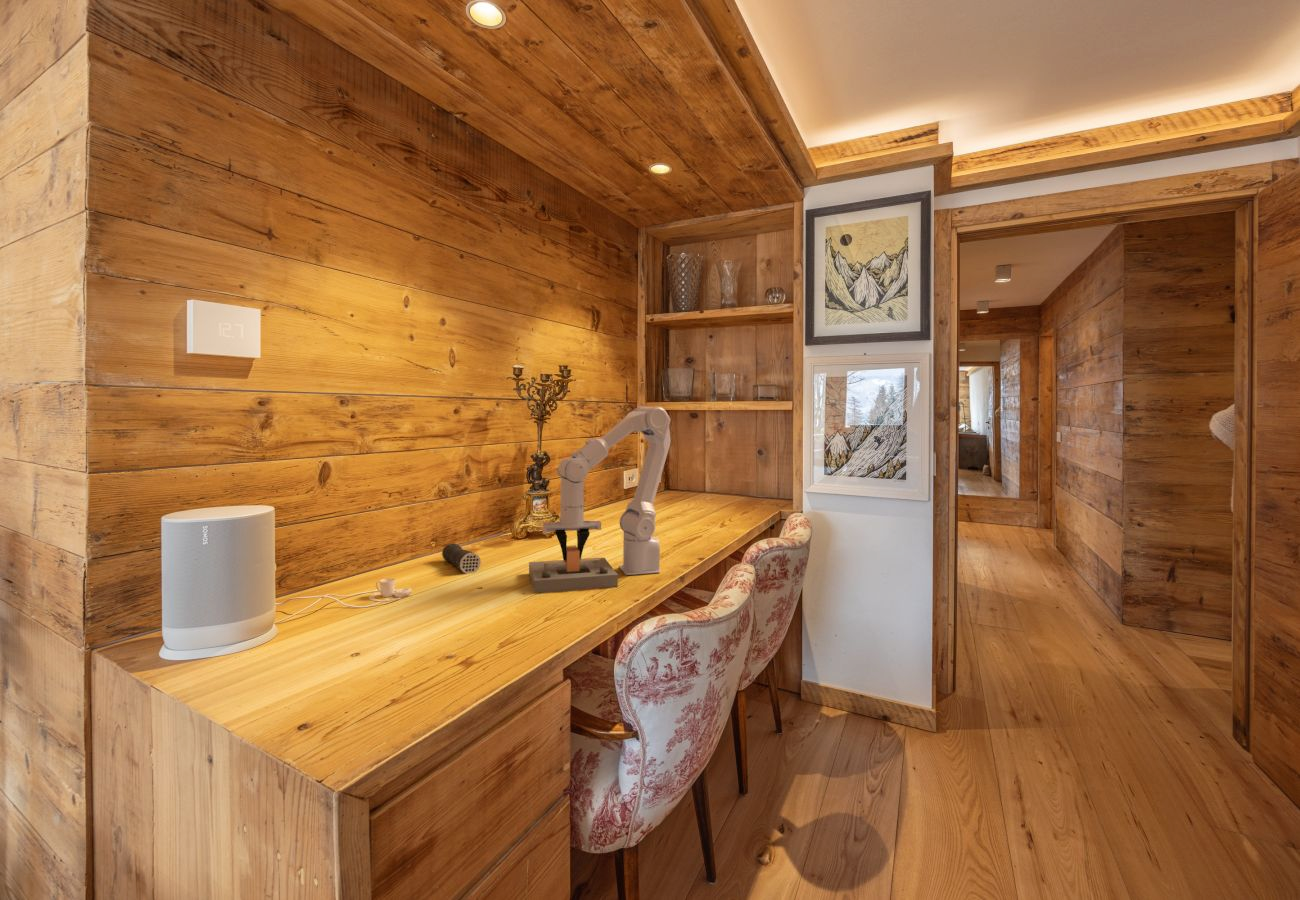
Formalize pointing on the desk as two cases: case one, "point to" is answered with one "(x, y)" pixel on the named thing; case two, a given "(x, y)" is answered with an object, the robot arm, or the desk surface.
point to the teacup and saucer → (389, 590)
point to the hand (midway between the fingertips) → (572, 558)
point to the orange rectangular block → (573, 558)
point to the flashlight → (461, 558)
